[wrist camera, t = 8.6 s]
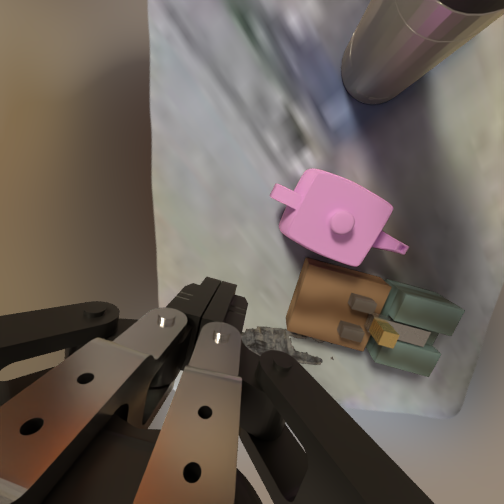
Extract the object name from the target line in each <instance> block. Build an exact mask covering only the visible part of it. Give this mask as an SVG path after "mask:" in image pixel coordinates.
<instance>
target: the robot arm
mask: <svg viewBox="0 0 504 504" xmlns="http://www.w3.org/2000/svg"><path fill="white" fill-rule="evenodd" d="M503 14H504V0H371V1H370V3H369V5H368V7H367V9H366V11H365V13H364V15H363V17H362V19H361V20H360V22H359V24H358V26H357V28H356V30H355V32H354V34H353V36H352V38H351V40H350V42H349V44H348V46H347V48H346V50H345V52H344V55H343V58H342V65H341V73H342V79H343V83H344V85H345V87H346V89H347V91H348V92H349V93H350V94H351V96H352V97H354V98H355V99H356V100H358V101H360V102H363V103H366V104H380V103H383V102H387V101H389V100H390V99H392V98H394V97H396V96H397V95H398V94H399V93H401V92H402V91H403V90H405V89H406V88H407V87H409V86H410V85H411V84H413V83H414V82H415V81H417V80H418V79H419V78H421V77H422V76H423V75H425V74H426V73H427V72H429V71H430V70H431V69H432V68H434V67H435V66H436V65H438V64H439V63H440V62H442V61H443V60H444V59H446V58H447V57H448V56H450V55H451V54H452V53H453V52H455V51H456V50H457V49H459V48H460V47H461V46H463V45H464V44H465V43H467V42H468V41H469V40H471V39H472V38H473V37H474V36H476V35H477V34H478V33H480V32H481V31H482V30H484V29H485V28H486V27H488V26H489V25H490V24H491V23H493V22H494V21H495V20H497V19H498V18H499V17H500V16H502V15H503ZM236 287H237V285H235V284H232V283H228V282H224V281H222V283H221V280H217V279H213V278H210V277H206V278H205V279H204V281H203V282H202V283H201V285H197V284H194V283H192V284H190V285H187V286H185V287H184V288H183V289H182V290H181V291H180V292H179V293H178V294H177V296H176V297H175V298H174V299H173V300H172V301H171V302H170V303H169V304H168V305H167V306H166V308H157V309H153V310H151V311H149V312H148V313H147V314H145V315H144V316H143V317H142V318H141V319H139V320H134V319H119V309H118V308H117V307H116V306H115V305H113V304H110V303H107V302H98V301H96V302H85V303H79V304H73V305H67V306H60V307H54V308H48V309H41V310H35V311H29V312H22V313H16V314H10V315H4V316H0V370H1V369H3V368H4V367H6V366H7V365H9V364H11V363H14V362H17V361H21V360H25V359H29V358H33V357H36V356H40V355H44V354H48V353H51V352H55V351H59V350H62V349H65V359H64V361H62V362H61V363H60V364H58V365H57V366H55V367H52V368H49V369H45V370H42V371H39V372H35V373H32V374H29V375H26V376H22V377H19V378H16V379H12V380H9V381H0V504H262V502H261V500H260V498H259V496H258V495H257V493H256V491H255V490H254V488H253V487H252V485H251V484H250V482H249V481H248V480H247V479H246V477H245V476H244V475H243V474H242V473H241V472H240V471H239V470H238V469H237V468H236V467H237V451H238V436H240V439H241V441H242V443H243V445H244V447H245V449H246V451H247V452H248V454H249V457H250V458H251V460H252V462H253V464H254V466H255V468H256V470H257V472H258V474H259V476H260V477H261V479H262V481H263V483H264V485H265V487H266V489H267V491H268V493H269V495H270V497H271V499H272V500H273V502H274V504H434V503H433V502H432V501H431V499H429V497H428V496H427V495H426V494H425V493H424V492H423V491H422V490H421V489H420V488H419V487H418V486H417V485H416V484H415V483H414V482H413V481H412V480H411V479H410V478H409V477H408V476H407V475H406V474H405V472H404V471H402V469H401V468H400V467H399V466H398V465H397V464H396V463H395V462H394V461H393V460H392V459H391V458H390V457H389V456H388V455H387V454H386V453H385V452H384V451H383V450H382V449H381V448H380V447H379V446H378V445H377V443H375V441H374V440H373V439H372V438H371V437H370V436H369V435H368V434H367V433H366V432H365V431H364V430H363V429H362V428H361V427H360V426H359V425H358V424H357V423H356V422H355V421H354V420H353V418H351V416H350V415H349V414H348V413H347V412H346V411H345V410H344V409H343V408H342V407H341V406H340V405H339V404H338V403H337V402H336V401H335V400H334V399H333V398H332V397H331V396H330V395H329V394H328V393H327V391H326V390H325V389H324V388H323V387H322V386H321V385H320V384H319V383H318V382H317V381H316V380H315V379H314V378H313V377H312V376H311V375H310V374H309V373H308V372H307V371H306V370H305V369H304V368H303V367H302V366H301V365H300V363H299V362H298V361H297V360H296V359H294V358H293V357H292V356H290V355H289V354H287V353H284V352H282V351H278V350H268V351H265V352H264V353H262V354H261V356H259V355H258V354H256V353H254V352H252V351H251V350H249V349H248V348H247V347H246V346H245V345H244V343H243V341H242V339H241V334H242V329H243V325H244V320H245V315H246V310H247V306H248V303H247V301H246V299H245V297H241V296H238V295H235V291H236ZM180 370H182V371H183V373H182V376H181V379H180V381H179V384H178V386H177V389H176V392H175V394H174V397H173V400H172V402H171V405H170V408H169V410H168V413H167V415H166V418H165V421H164V423H163V426H162V429H161V430H157V429H156V430H155V429H148V427H149V426H150V425H151V423H152V421H153V420H154V418H155V416H156V415H157V413H158V411H159V410H160V408H161V406H162V405H163V403H164V402H165V400H166V398H167V397H168V395H169V393H170V392H171V390H172V388H173V386H174V382H175V379H176V377H177V375H178V374H179V372H180ZM285 422H286V423H287V424H288V426H289V427H290V429H291V430H292V431H293V433H294V434H295V436H296V437H297V438H298V440H299V441H300V443H301V444H302V446H303V447H304V449H305V452H306V453H305V452H304V450H303V449H302V447H301V446H300V444H299V443H298V442H297V440H296V439H295V437H294V436H293V434H292V433H291V432H290V430H289V429H288V427H287V426H286V425H285Z"/></svg>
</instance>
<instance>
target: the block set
mask: <svg viewBox="0 0 504 504" xmlns="http://www.w3.org/2000/svg"><path fill="white" fill-rule="evenodd" d="M464 312H465V310H463V309H462V308H460V307H458V306H457V305H455V304H454V303H452V302H450V301H449V300H447V299H446V298H444V297H442V296H441V295H439V294H438V293H436V292H433V291H429V290H425V289H421V288H418V287H414V286H410V285H407V284H403V283H399V282H396V281H392V280H388V279H386V280H385V281H384V280H383V279H381V278H380V277H377V276H374V275H370V274H366V273H363V272H359V271H355V270H351V269H348V268H344V267H340V266H337V265H333V264H329V263H326V262H322V261H318V260H315V259H311V258H307V257H306V258H305V261H304V264H303V267H302V270H301V273H300V276H299V279H298V282H297V285H296V288H295V291H294V294H293V297H292V300H291V303H290V306H289V309H288V312H287V315H286V324H287V331H291V332H294V333H298V334H302V335H305V336H309V337H312V338H316V339H320V340H323V341H327V342H330V343H334V344H338V345H341V346H345V347H349V348H352V349H356V350H359V351H364V349H365V346H366V348H367V350H368V351H369V353H370V355H371V357H372V358H373V360H374V362H376V363H379V364H383V365H387V366H390V367H394V368H398V369H401V370H405V371H408V372H412V373H416V374H419V375H423V376H426V377H429V376H430V374H431V372H432V370H433V369H434V367H435V365H436V363H437V361H438V359H439V358H440V356H441V353H440V352H438V351H437V350H436V349H435V348H434V347H433V346H432V345H433V343H434V341H435V339H436V337H437V336H438V334H439V333H441V334H445V335H449V336H452V334H453V332H454V330H455V328H456V326H457V325H458V323H459V321H460V319H461V317H462V315H463V314H464ZM374 313H378V314H381V315H385V316H389V317H391V318H392V319H393V320H394V321H398V322H401V323H405V324H409V325H412V326H416V327H420V328H423V329H427V330H429V331H430V332H431V333H430V335H429V337H428V339H427V341H426V343H425V345H424V347H422V346H418V345H414V344H411V343H407V342H404V341H400V340H397V342H396V344H395V346H394V348H389V347H386V346H382V345H378V344H377V342H376V341H375V339H374V338H373V336H372V335H371V333H370V332H368V331H367V329H366V328H365V326H364V324H365V322H366V320H367V317H368V315H369V314H372V315H373V314H374Z"/></svg>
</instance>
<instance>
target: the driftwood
mask: <svg viewBox="0 0 504 504" xmlns="http://www.w3.org/2000/svg"><path fill="white" fill-rule="evenodd" d="M289 336H293V337H296V338H307V337H309V336H305V335H302V334H298V333H294V332H291V331H287V330H286V329H280V328H270V327H258V326H257V329H253V328H252V329H246V331H245V333H243V332H242V334H241V339H242V341H243V343H244V345H245V346H246V347H247V348H248V349H249V350H251V351H252V352H254V353H256V354H258V355H259V356H261V354H262V353H264V352H265V351H268V350H278V351H282V352H284V353H287V354H289V355H290V356H292V357H293V358H294V359H296V360H297V361H298V362H299V363H307V364H319V365H320V364H321V363H322V359H321V358H318V357H314V356H311V355H308V354H307V352H306V353H303V352H301V353H300V352H298V351H295V349H294V347H293V346H292V345H291V343H292V342H291V338H290V339H289ZM313 339H314V340H316V341H318V342H324V341H322V340H320V339H316V338H313ZM329 343H330V342H329ZM331 344H334V343H331ZM331 359H332V360H334V359H333V357H331Z"/></svg>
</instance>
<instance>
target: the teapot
mask: <svg viewBox="0 0 504 504" xmlns="http://www.w3.org/2000/svg"><path fill="white" fill-rule="evenodd" d="M270 197H272V198H273V199H275V200H277V201H279V202H281V203H283V204H285V205H287V206H286V208H285V211H284V213H283V215H282V218H281V220H280V223H279V229H280V231H281V232H282V233H283V234H284V235H285V236H287V237H288V238H290V239H291V240H293V241H294V242H296V243H298V244H300V245H301V246H303V247H305V248H307V249H308V250H310V251H312V252H315V253H317V254H319V255H322V256H324V257H327V258H330V259H332V260H335V261H338V262H340V263H343V264H346V265H350V266H354V267H357V266H359V265H360V264H361V262H362V261H363V260H364V258H365V257H366V255H367V253H368V252H369V250H370V249H371V247H374V248H378V249H383V250H387V251H392V252H396V253H401V254H404V255H405V253H406V251H407V250H408V248H409V246H407V245H405V244H404V243H402V242H400V241H398V240H396V239H395V238H393V237H391V236H389V235H388V234H386V233H385V232H383V231H382V229H383V227H384V226H385V224H386V222H387V220H388V219H389V217H390V215H391V213H392V211H393V207H392V205H391V204H390V203H388V202H387V201H385V200H384V199H382V198H381V197H379V196H377V195H376V194H374V193H372V192H371V191H369V190H367V189H365V188H364V187H362V186H360V185H358V184H356V183H354V182H352V181H350V180H348V179H346V178H343V177H341V176H338V175H335V174H332V173H329V172H326V171H323V170H319V169H308V170H306V171H305V172H304V174H303V175H302V177H301V179H300V180H299V182H298V184H297V186H296V188H295V190H294V191H292V190H290V189H288V188H286V187H284V186H282V185H280V184H275V186H274V188H273V190H272V192H271V194H270Z"/></svg>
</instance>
